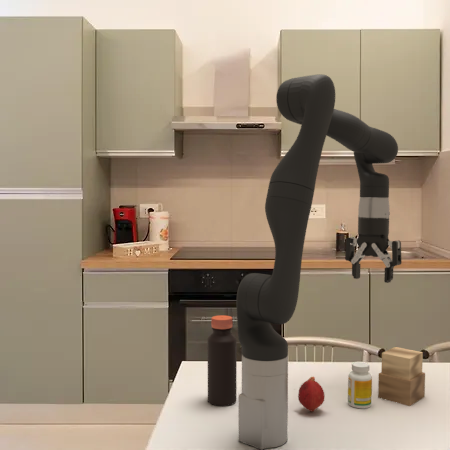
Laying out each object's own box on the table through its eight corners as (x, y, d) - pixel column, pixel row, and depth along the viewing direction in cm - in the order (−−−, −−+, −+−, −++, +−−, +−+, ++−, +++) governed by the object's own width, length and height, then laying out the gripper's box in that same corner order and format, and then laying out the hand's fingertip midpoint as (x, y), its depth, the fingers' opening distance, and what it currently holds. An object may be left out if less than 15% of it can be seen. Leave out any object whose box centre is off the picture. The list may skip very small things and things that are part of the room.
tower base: (409, 406, 135) (410, 381, 134) (378, 398, 140) (378, 373, 140) (424, 397, 141) (425, 372, 140) (393, 389, 146) (394, 365, 146)
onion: (304, 417, 128) (304, 382, 128) (294, 408, 134) (294, 373, 133) (328, 414, 130) (328, 379, 129) (317, 405, 135) (317, 371, 135)
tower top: (409, 380, 135) (409, 358, 135) (381, 373, 140) (381, 353, 139) (422, 372, 140) (422, 352, 140) (394, 366, 145) (395, 346, 145)
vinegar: (235, 407, 134) (235, 321, 133) (206, 406, 135) (206, 320, 133) (237, 396, 141) (237, 314, 140) (209, 395, 142) (208, 314, 140)
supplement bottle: (342, 403, 136) (343, 363, 135) (357, 398, 140) (358, 359, 139) (361, 410, 132) (362, 369, 131) (376, 405, 135) (377, 364, 135)
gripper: (340, 215, 148) (339, 278, 149) (393, 217, 138) (391, 285, 139) (355, 214, 153) (354, 275, 154) (407, 216, 144) (405, 282, 145)
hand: (372, 280), depth 147 cm, fingers open, 8 cm apart
